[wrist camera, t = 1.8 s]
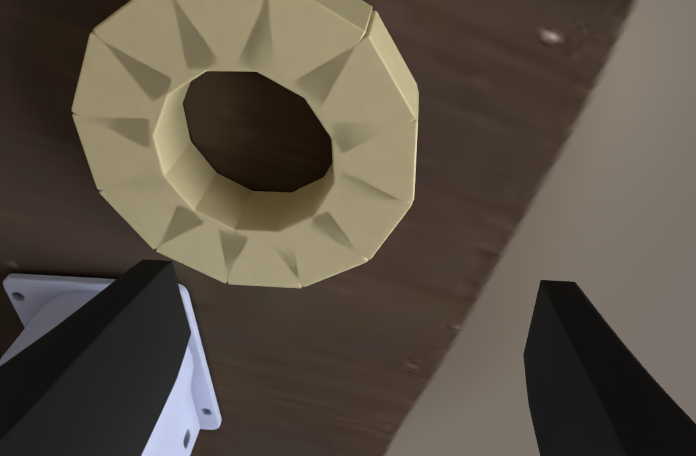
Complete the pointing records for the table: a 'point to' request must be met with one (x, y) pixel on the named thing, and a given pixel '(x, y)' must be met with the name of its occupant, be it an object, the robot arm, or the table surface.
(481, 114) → the table surface
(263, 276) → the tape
